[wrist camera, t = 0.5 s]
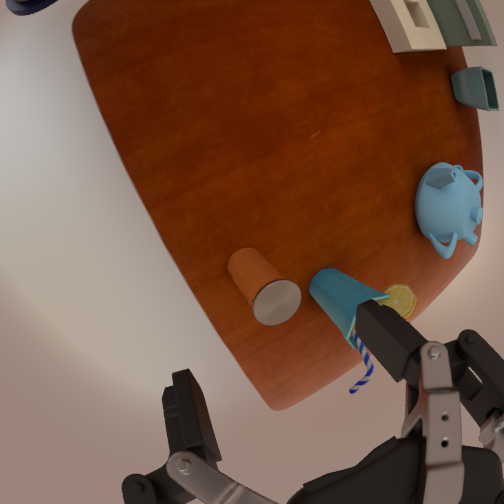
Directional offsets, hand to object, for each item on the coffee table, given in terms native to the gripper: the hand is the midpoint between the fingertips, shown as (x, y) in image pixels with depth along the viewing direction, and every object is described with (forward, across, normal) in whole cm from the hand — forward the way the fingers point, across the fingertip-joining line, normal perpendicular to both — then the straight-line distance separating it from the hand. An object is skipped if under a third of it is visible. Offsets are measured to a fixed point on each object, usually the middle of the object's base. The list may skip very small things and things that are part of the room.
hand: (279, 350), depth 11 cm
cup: (+20, -13, +16) cm, 28 cm away
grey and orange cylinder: (+20, -3, +8) cm, 21 cm away
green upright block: (+25, -47, -27) cm, 59 cm away
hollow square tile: (+24, -37, -25) cm, 51 cm away
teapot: (+22, -40, +9) cm, 46 cm away
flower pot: (+25, -54, -14) cm, 61 cm away
